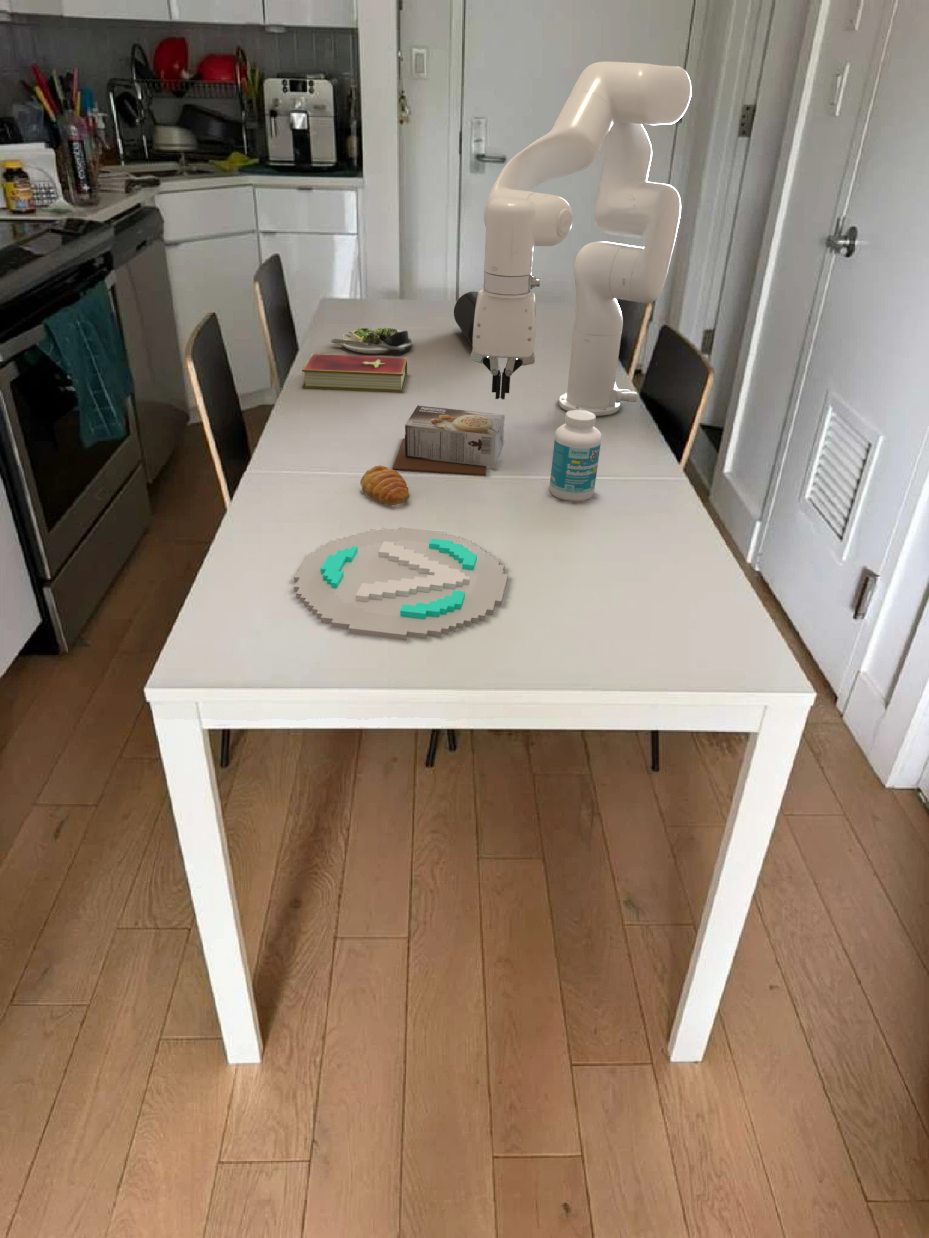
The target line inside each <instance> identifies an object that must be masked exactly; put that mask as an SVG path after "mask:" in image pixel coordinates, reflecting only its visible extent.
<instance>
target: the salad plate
mask: <svg viewBox="0 0 929 1238" xmlns="http://www.w3.org/2000/svg"><path fill="white" fill-rule="evenodd" d="M330 343H333V344H336V345H339V346H342V347H344V348H345V349H346V350H349V351H351V352H355V353H358V354H362V355H363V354H364V355H401V354H405V353H407V352H409V351H410V350H411V349H412V346H413V341H412V339H411V336H410V335H409V331H408V330H403V331H402V330H398V329H396V328H392V327H383V328H382V327H379V328H377V329H376V330H372V329H371V328H368V327H364V328H363V327H358V328H356V330H350V331H347V332H344V333H343V334H342V335H341V339H339V338H332V339H331V340H330Z"/></svg>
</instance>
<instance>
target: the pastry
mask: <svg viewBox="0 0 929 1238" xmlns="http://www.w3.org/2000/svg"><path fill="white" fill-rule="evenodd" d="M360 486H361V490H362V492H363V494H365V495H366V496H367V497H368V498H369V499H372V500H373V501H374V502H377V504H380V505H382V506H383V505H384V506H389V507H394V506H397V505H402V504H405V503H407V502H408V500H409V498H410V493H409V487H408V485H407V482H406V480H405V478H404V477H403V476H402V475H401V474H400V473H399V471H397V470H392V469H390V468H389V467H388V466H386V465H374V466H373V467H371V468H370V469H367V470H366V471H365V472H364V474H363V475H362V476H361V479H360Z"/></svg>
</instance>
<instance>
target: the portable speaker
mask: <svg viewBox="0 0 929 1238" xmlns="http://www.w3.org/2000/svg"><path fill="white" fill-rule="evenodd" d="M478 293H479V291H469V292H466V293H464V294H462V295H461V296H460V297H459V298H458V299H457V301H456V302H455V305H454V308H453V318H454V321H455V323H456V324H457V326H458V328H460V330H461V332H462V334H464V337H466V339H467V340H468V342H469V343H470V345H471V346H472V347H473V328H474V317H475V308H476V302H477V297H478Z"/></svg>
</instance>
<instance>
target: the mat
mask: <svg viewBox="0 0 929 1238" xmlns="http://www.w3.org/2000/svg"><path fill="white" fill-rule="evenodd" d="M487 469H488V468H487V467H486V466H478V465H470V464H461V463H452V462H444V461H435V460H427V459H419V458H410V457H405V437H403V438H402V441H401V442H400V446H399V448H398V451H397V454H396V458H395V460H394V463H393V466H392V469H391V470H396V471H397V472H415V473H429V474H431V473H434V474H446V475H447V474H448V475H462V476H463V475H464V476H479V477H486V474H487Z"/></svg>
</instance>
